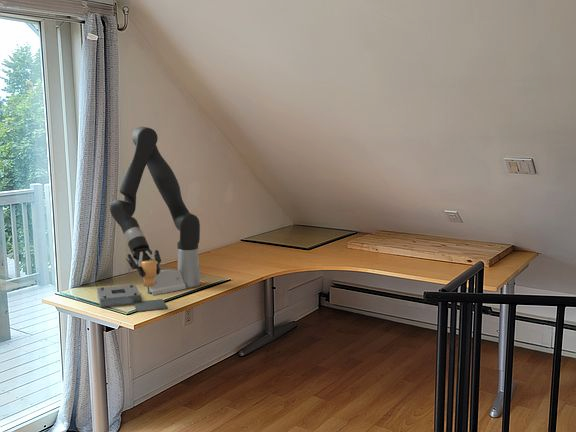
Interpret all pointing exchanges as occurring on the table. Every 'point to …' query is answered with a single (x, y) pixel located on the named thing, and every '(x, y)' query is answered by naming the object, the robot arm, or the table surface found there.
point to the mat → (150, 305)
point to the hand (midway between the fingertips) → (151, 274)
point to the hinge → (167, 282)
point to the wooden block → (149, 272)
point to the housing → (118, 295)
